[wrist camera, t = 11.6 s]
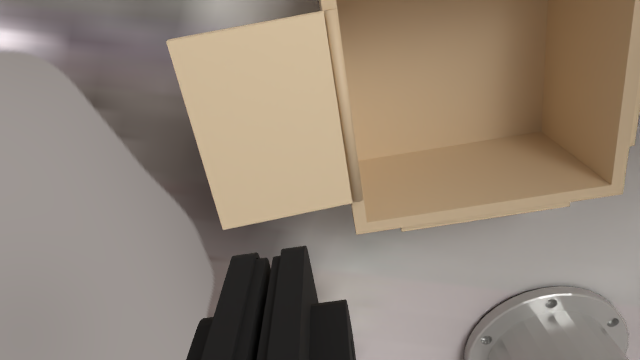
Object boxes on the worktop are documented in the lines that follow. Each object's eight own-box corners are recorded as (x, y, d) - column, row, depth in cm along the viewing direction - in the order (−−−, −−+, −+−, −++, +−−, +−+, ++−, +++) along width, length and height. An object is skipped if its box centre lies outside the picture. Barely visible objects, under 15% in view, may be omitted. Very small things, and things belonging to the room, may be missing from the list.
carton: (553, 141, 30) (631, 201, 23) (345, 174, 31) (357, 243, 23) (568, -101, 24) (680, -122, 17) (310, -53, 25) (312, -55, 17)
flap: (337, 9, 18) (166, 41, 17) (364, 200, 21) (222, 229, 21) (335, 8, 18) (168, 39, 18) (361, 195, 22) (223, 224, 22)
